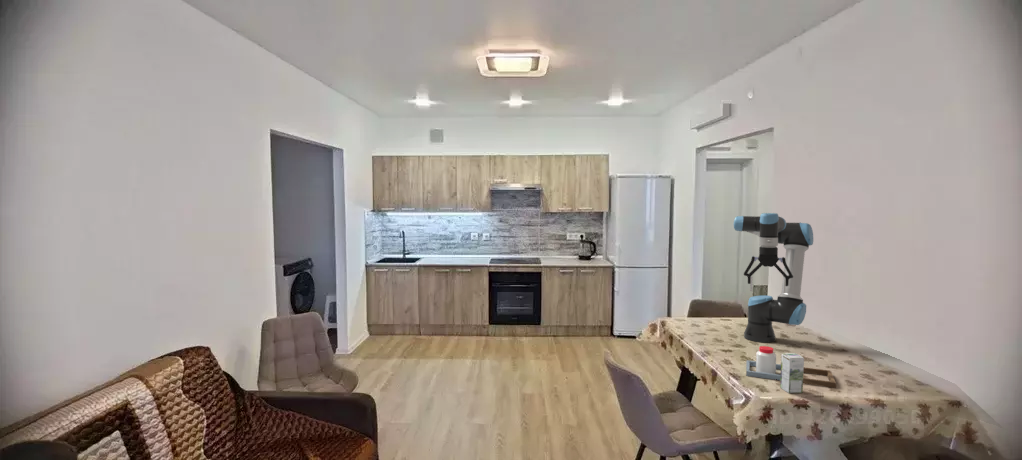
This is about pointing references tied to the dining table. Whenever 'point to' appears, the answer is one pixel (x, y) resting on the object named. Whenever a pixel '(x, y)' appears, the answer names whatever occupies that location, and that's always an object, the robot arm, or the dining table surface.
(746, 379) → the dining table surface
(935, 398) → the dining table surface
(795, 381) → the syrup box
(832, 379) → the walnut frame
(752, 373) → the slate frame
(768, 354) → the pill bottle
